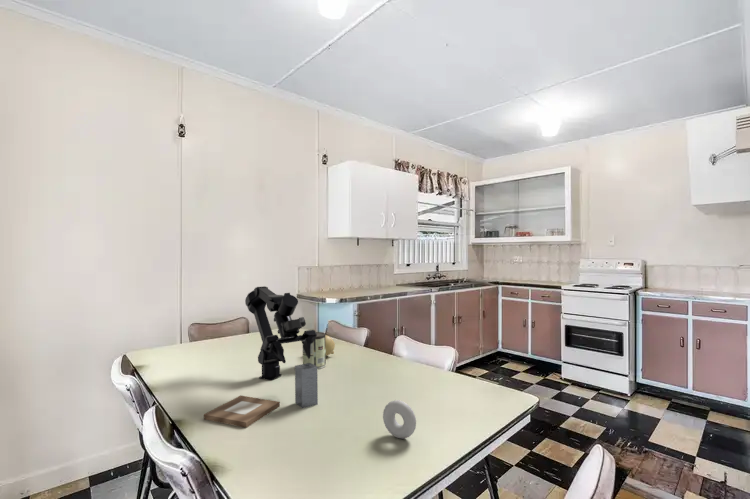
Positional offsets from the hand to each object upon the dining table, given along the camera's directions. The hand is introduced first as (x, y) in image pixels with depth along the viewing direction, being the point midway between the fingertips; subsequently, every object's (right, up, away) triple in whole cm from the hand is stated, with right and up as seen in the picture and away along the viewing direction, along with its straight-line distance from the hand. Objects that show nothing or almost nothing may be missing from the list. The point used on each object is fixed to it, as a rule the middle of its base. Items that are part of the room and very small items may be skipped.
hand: (297, 360), depth 132 cm
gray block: (+4, -13, -6) cm, 15 cm away
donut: (+34, -13, -29) cm, 46 cm away
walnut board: (-15, -13, -12) cm, 23 cm away
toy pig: (+2, -13, +51) cm, 53 cm away
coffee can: (0, -13, +36) cm, 38 cm away
